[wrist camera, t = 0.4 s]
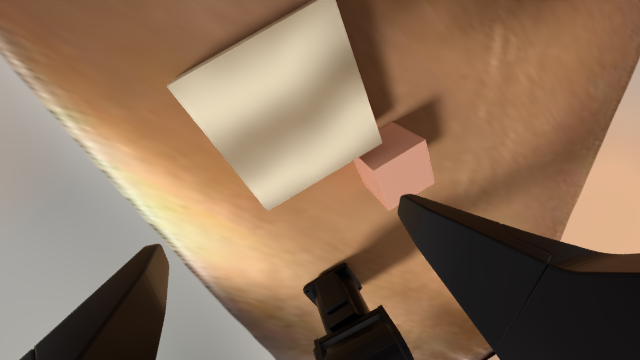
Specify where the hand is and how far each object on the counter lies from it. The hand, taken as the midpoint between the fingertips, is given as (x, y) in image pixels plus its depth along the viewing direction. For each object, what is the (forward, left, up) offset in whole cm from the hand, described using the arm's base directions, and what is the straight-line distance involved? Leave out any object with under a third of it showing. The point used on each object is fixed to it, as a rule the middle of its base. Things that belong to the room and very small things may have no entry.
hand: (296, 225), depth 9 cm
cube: (-9, -9, -14) cm, 18 cm away
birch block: (0, -3, -14) cm, 14 cm away
